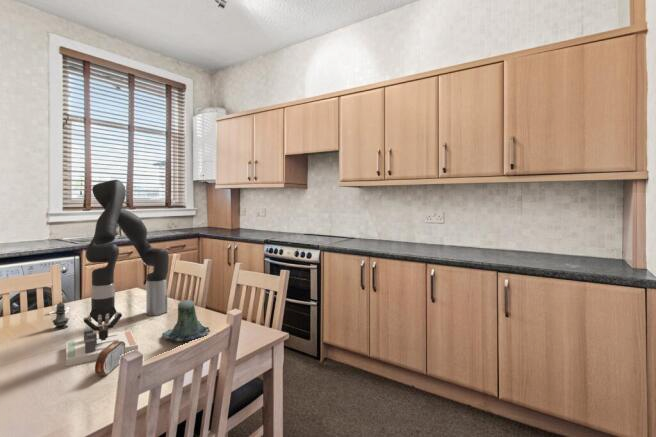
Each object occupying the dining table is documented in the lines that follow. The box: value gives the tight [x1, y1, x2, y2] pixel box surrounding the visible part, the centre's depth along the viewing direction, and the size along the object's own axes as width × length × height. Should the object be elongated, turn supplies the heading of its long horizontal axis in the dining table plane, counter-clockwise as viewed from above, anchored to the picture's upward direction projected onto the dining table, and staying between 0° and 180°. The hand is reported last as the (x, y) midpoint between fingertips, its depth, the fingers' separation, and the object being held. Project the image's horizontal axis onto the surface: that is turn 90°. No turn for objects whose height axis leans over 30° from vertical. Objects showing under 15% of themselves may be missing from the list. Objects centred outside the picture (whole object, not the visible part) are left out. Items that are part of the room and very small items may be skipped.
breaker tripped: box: [87, 332, 98, 345], centre depth 131 cm, size 3×2×4 cm
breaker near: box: [85, 338, 95, 353], centre depth 126 cm, size 3×2×4 cm
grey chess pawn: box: [52, 301, 70, 331], centre depth 154 cm, size 6×6×12 cm
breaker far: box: [83, 328, 94, 342], centre depth 136 cm, size 3×2×4 cm
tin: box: [94, 341, 126, 376], centre depth 119 cm, size 15×3×8 cm, turn 5°
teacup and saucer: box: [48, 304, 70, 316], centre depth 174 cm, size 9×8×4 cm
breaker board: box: [65, 329, 139, 367], centre depth 133 cm, size 22×18×3 cm
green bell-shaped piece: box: [161, 299, 211, 345], centre depth 147 cm, size 19×21×19 cm
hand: (103, 339), depth 133 cm, fingers closed
